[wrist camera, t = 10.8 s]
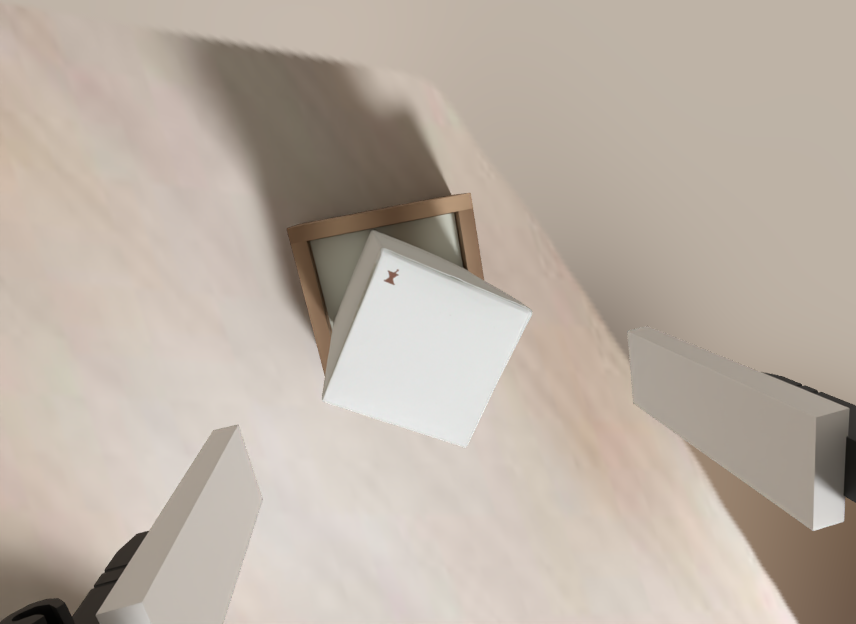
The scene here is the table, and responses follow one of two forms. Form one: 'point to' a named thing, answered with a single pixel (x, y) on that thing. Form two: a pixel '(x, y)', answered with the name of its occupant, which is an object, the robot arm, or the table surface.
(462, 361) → the supplement box
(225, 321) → the table surface
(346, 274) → the brown square open box
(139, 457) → the table surface
